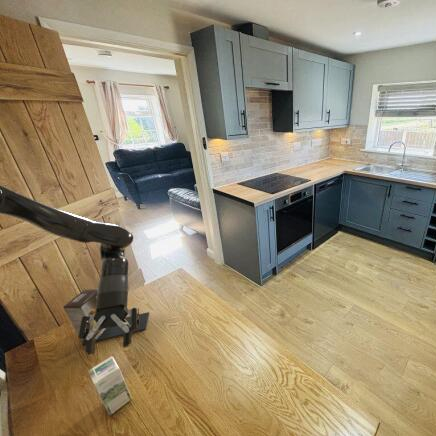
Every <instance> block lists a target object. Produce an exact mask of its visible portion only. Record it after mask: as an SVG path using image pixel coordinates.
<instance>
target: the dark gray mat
mask: <svg viewBox="0 0 436 436" xmlns="http://www.w3.org/2000/svg"><path fill="white" fill-rule="evenodd" d="M149 315H150V311H147V312H144V313H139V325H140V326H139V328H138V329H135V330H133V331H132V334H135V333H138V332H143V331H146V329H147V325H148V320H149ZM125 320H126V321H127V322H128V323H129V325H130V326H132V316H130V315H129V316H126V318H125ZM124 334H125V332H124V330H123V329H122V328H120V327H119V326H116V327H110V328H106V329H105V330H104V331H103V333H102V334H101V335H100V336H99V337H98V338H97V339H96V343H98V342H102V341H105V340H109V339H113V338H118V337H122V336H124ZM86 343H87V341H86V340H85V339H83V341H82V343H81V346H86Z"/></svg>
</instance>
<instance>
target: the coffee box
mask: <svg viewBox="0 0 436 436" xmlns="http://www.w3.org/2000/svg"><path fill="white" fill-rule="evenodd" d="M97 293H98V289H97V288H96V289H95V288H94V289H93V288H91V289H87V288H86V289H83V290H82V291H81V292H79V293H78V294H77V295H76V296H75V297H73V298H72V299H71V300H70V301H68V302H67V303H66V304H65V305H64V306H63V310H64V312H65V313H66V315H67V317H68V319H69V321H70V323H71V325H72V326H73V329H74V331H75V333H76V334H77V336H78V338H79V332H80V326H81V321H82V317H83V316H94V315H95V314H96V303H97ZM95 324H96V321H95V320H93V322H92V323H91V324H90V330H89V333H90V332H91V330H92V328H93V327H94V326H95ZM105 329H106V328H105ZM105 329H103V330H102V331H101V332H99V334H98V335H97V336H96V337H95V339H97V338H98V337H99V336H100V335H101V334H102V333H103V331H104V330H105Z"/></svg>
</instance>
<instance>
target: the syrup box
mask: <svg viewBox="0 0 436 436" xmlns="http://www.w3.org/2000/svg"><path fill="white" fill-rule="evenodd" d="M87 373H88V375H89V377H90V380H91V381H92V383H93V386H94V388H95V389H96V392H97V394H98V396H99V398H100V401H101V402H102V404H103V405H104V409H105V410H106V412H107V413H108V415H109V417H110V416H112V415H113V414H115V413H116V412H117V411H119V410H120V409H121V408H122V407H124V406H125V405H126V404H128V403H129V402H131V401H132V399H133V398H132V395H131V393H130V390H129V388H128V386H127V383H126V381H125V378H124V376H123V374H122V370H121V369H120V366H119V365H118V364H117V362H116V360H115V358H114V356H113V355H112V356H109V357H108V358H107V359H105V360H103V361H102V362H100V363H98V364H97V365H95V366H93V367H92V368H90V369H88V370H87Z"/></svg>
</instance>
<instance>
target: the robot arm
mask: <svg viewBox="0 0 436 436" xmlns="http://www.w3.org/2000/svg"><path fill="white" fill-rule="evenodd" d="M0 214H1V215H6V216H10V217H12V218H16V219H19V220H22V221H24V222H26V223H29V224H30V225H33V226H35V227H37V228H39V229H41V230H42V231H44V232H46V233H49V234H51V235H53V236H57V237H60V238H63V239H67V240H71V241H75V242H78V243H83V244H89V243H98V244H99V254H100V263H101V265H100V273H99V274H100V275H99V281H98V285H97V290H98V293H97V303H96V314H95V315H94V316H83V317H82V321H81V326H80V332H79V337H78V339H79V340H84V339H85V340H86V341H87V343H86V345H85V353H86V354H87V355H88V356H89V355H94V354H95V353H96V343H97V342H96V339H95V337H96V336H97V335H98V334H99V332H101V331H102V330H103V329H105V328H110V327H116V326H119V327H120V328H122V329H123V330H124V332H125V334H124V335H123V338H122V348H123V349H124V348H129V347H130V345H131V344H132V336H133V333H132V331H133V330H135V329H138V328H139V326H140V325H139V314H140V308H138V307H132V308H130V309H128V300H129V289H130V287H129V260H128V259H127V258H126V257H125V255H126V253H125V251H126V248H128V247H129V246H130V245H131V244H132V243H133V242H134V235H133V232H131V231H130V230H129V229H128V228H126V227H123V226H120V225H116V224H111V223H105V222H99V221H94V220H91V219H88V218H85V217H82V216H79V215H76V214H72V213H71V212H70V213H69V212H66V211H64V210H61V209H57V208H54V207H52V206H50V205H47V204H45V203H41V202H40V201H37V200H34V199H33V198H30V197H27V196H25V195H23V194H21V193H18V192H16V191H14V190H13V189H10V188H8V187H6V186H3V185H2V184H0ZM128 315H129V316H132V326H130V325H129V323H128V322H127V321H126V320H125V318H126V317H128ZM93 320H95V321H96V324H95V326H94V327H93V328H92V330H91V332H90V333H89V330H90V324H91V323H92V322H93Z"/></svg>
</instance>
